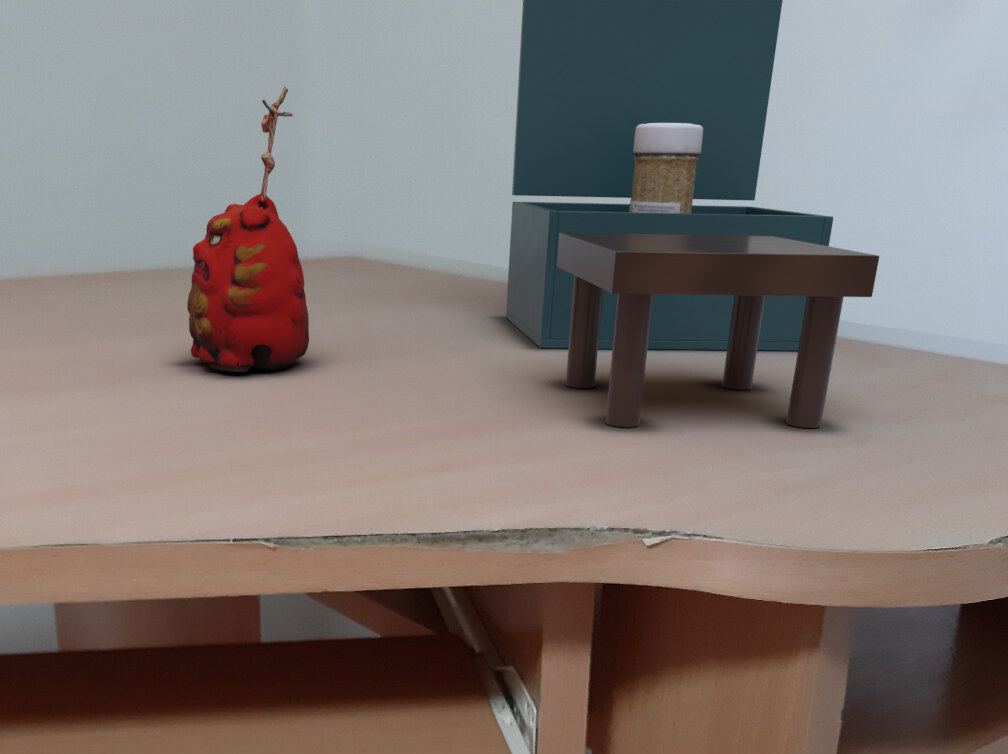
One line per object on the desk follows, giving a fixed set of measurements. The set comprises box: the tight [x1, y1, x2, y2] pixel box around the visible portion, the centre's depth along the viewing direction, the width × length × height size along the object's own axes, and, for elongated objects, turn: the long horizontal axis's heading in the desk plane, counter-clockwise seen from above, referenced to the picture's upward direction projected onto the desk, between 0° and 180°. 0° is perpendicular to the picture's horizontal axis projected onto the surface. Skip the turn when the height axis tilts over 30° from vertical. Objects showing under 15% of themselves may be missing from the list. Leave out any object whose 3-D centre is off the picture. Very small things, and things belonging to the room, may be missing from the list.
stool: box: [557, 232, 880, 429], centre depth 54 cm, size 12×12×8 cm
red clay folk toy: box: [186, 86, 310, 373], centre depth 60 cm, size 8×7×15 cm
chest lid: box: [511, 0, 784, 201], centre depth 78 cm, size 15×19×1 cm
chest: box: [505, 201, 834, 352], centre depth 76 cm, size 14×19×9 cm
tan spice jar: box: [629, 123, 703, 213], centre depth 75 cm, size 5×5×14 cm
